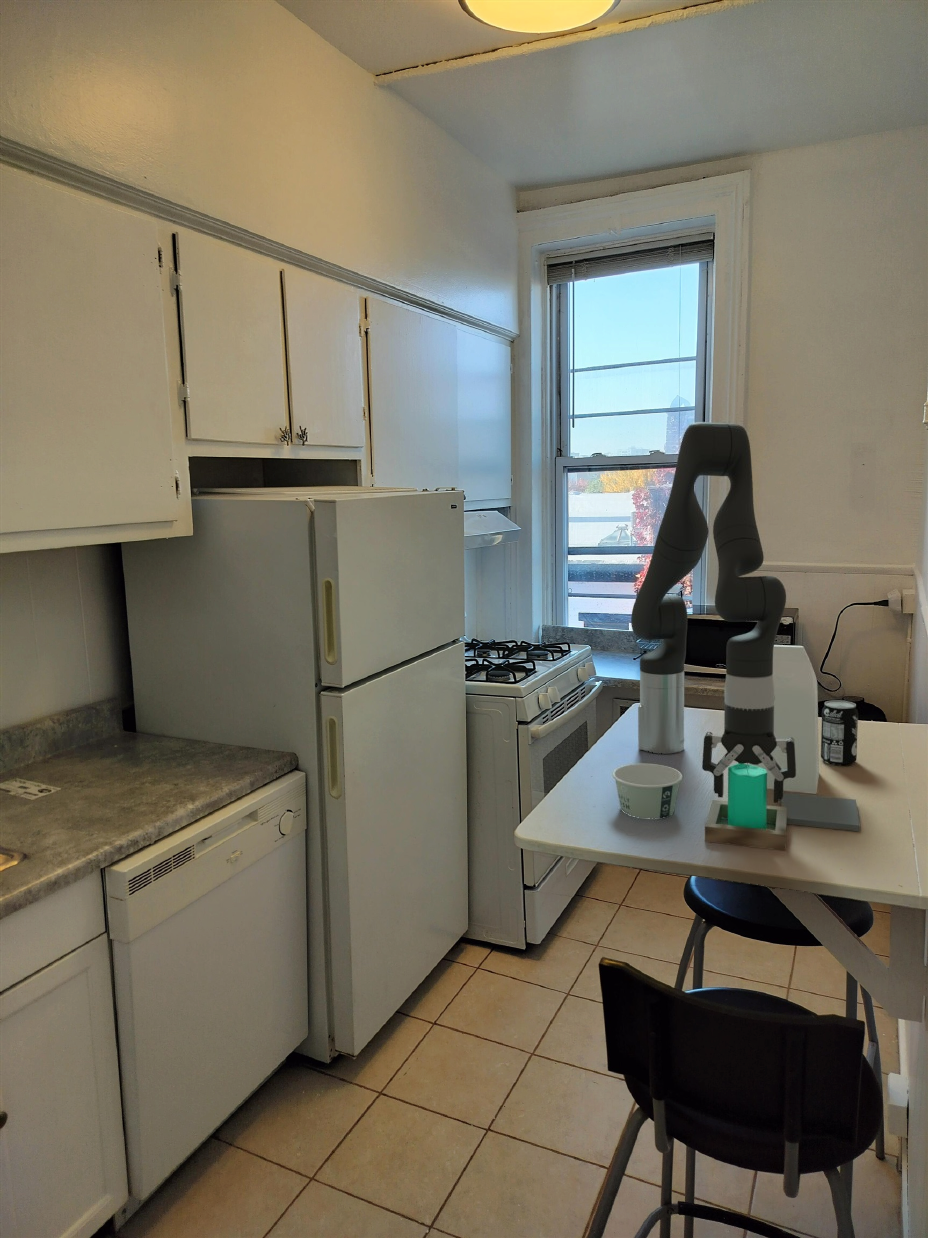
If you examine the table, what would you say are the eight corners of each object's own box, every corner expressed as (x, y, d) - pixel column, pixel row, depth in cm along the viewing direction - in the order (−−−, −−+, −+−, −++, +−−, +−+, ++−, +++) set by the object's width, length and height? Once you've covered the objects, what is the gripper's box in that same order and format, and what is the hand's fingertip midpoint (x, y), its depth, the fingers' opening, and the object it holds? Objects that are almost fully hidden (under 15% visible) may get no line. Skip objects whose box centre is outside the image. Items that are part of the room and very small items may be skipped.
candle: (721, 825, 140) (722, 756, 139) (756, 823, 141) (757, 753, 139) (736, 840, 135) (737, 767, 133) (772, 837, 135) (773, 765, 133)
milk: (819, 773, 163) (822, 641, 159) (816, 794, 153) (819, 653, 149) (753, 767, 168) (755, 639, 164) (747, 786, 158) (748, 650, 154)
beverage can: (849, 756, 172) (851, 699, 171) (861, 767, 166) (863, 707, 164) (816, 756, 173) (817, 699, 171) (826, 767, 167) (828, 708, 165)
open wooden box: (704, 841, 134) (704, 826, 134) (712, 813, 145) (712, 800, 145) (785, 850, 130) (785, 835, 130) (786, 821, 141) (787, 807, 141)
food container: (599, 804, 152) (599, 769, 151) (654, 793, 156) (654, 759, 155) (638, 827, 141) (638, 790, 140) (696, 814, 146) (696, 778, 145)
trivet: (780, 823, 140) (780, 817, 140) (782, 798, 151) (782, 792, 151) (859, 831, 136) (859, 825, 136) (855, 805, 147) (855, 799, 147)
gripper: (700, 704, 134) (700, 802, 136) (796, 709, 128) (795, 811, 131) (705, 693, 140) (705, 787, 143) (797, 698, 135) (795, 795, 137)
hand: (748, 798), depth 137 cm, fingers open, 8 cm apart
